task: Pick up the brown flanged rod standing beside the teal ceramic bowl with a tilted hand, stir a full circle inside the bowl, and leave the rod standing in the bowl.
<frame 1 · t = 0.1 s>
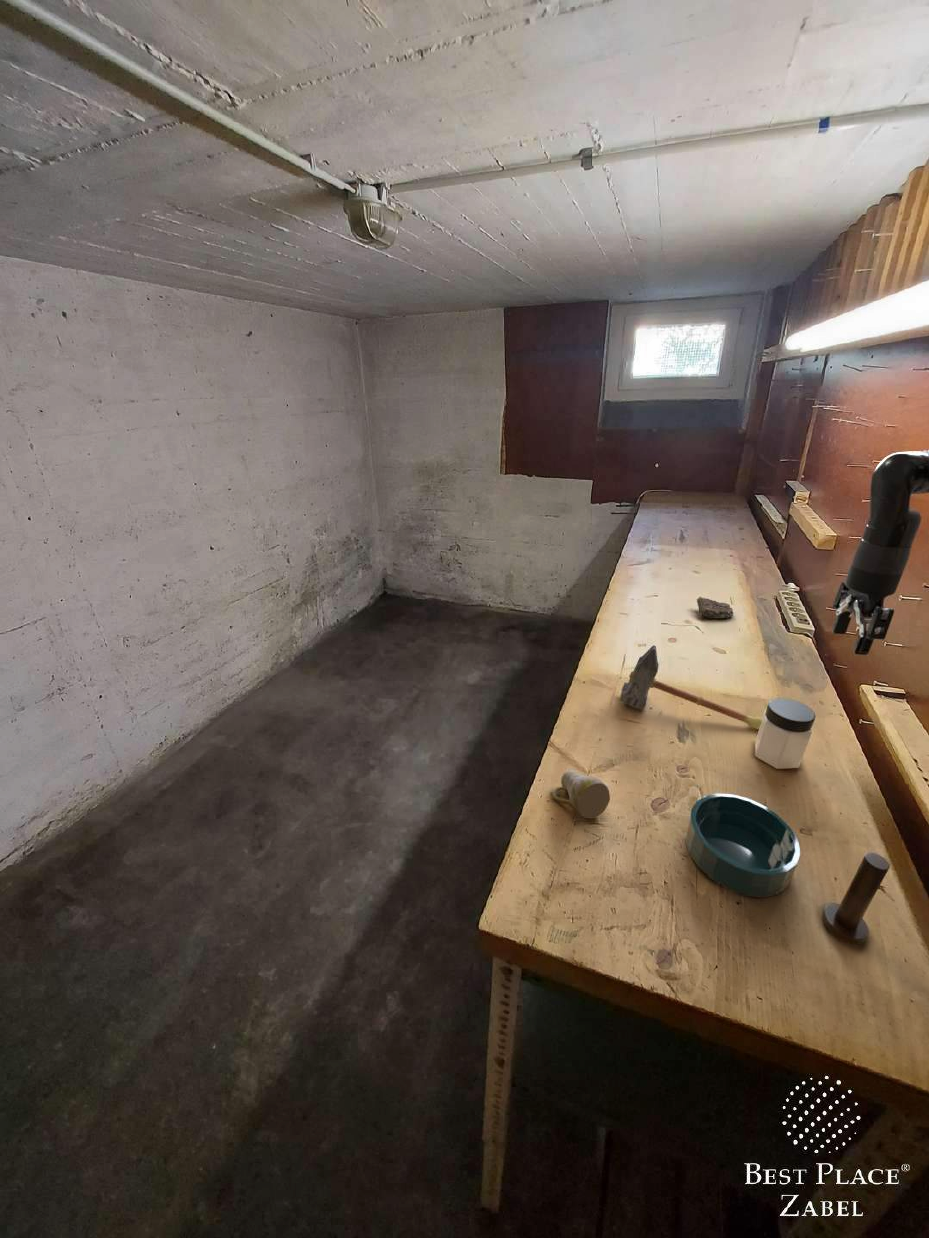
hand: (848, 642, 95), 24 cm above the table, tool pointing down, fingers open, 8 cm apart
hammer: (686, 714, 115), on the table
bowl: (735, 855, 81), on the table
brown flanged rod: (843, 925, 70), on the table
mug: (578, 801, 92), on the table
concrete sample: (713, 615, 162), on the table
jar: (775, 756, 102), on the table
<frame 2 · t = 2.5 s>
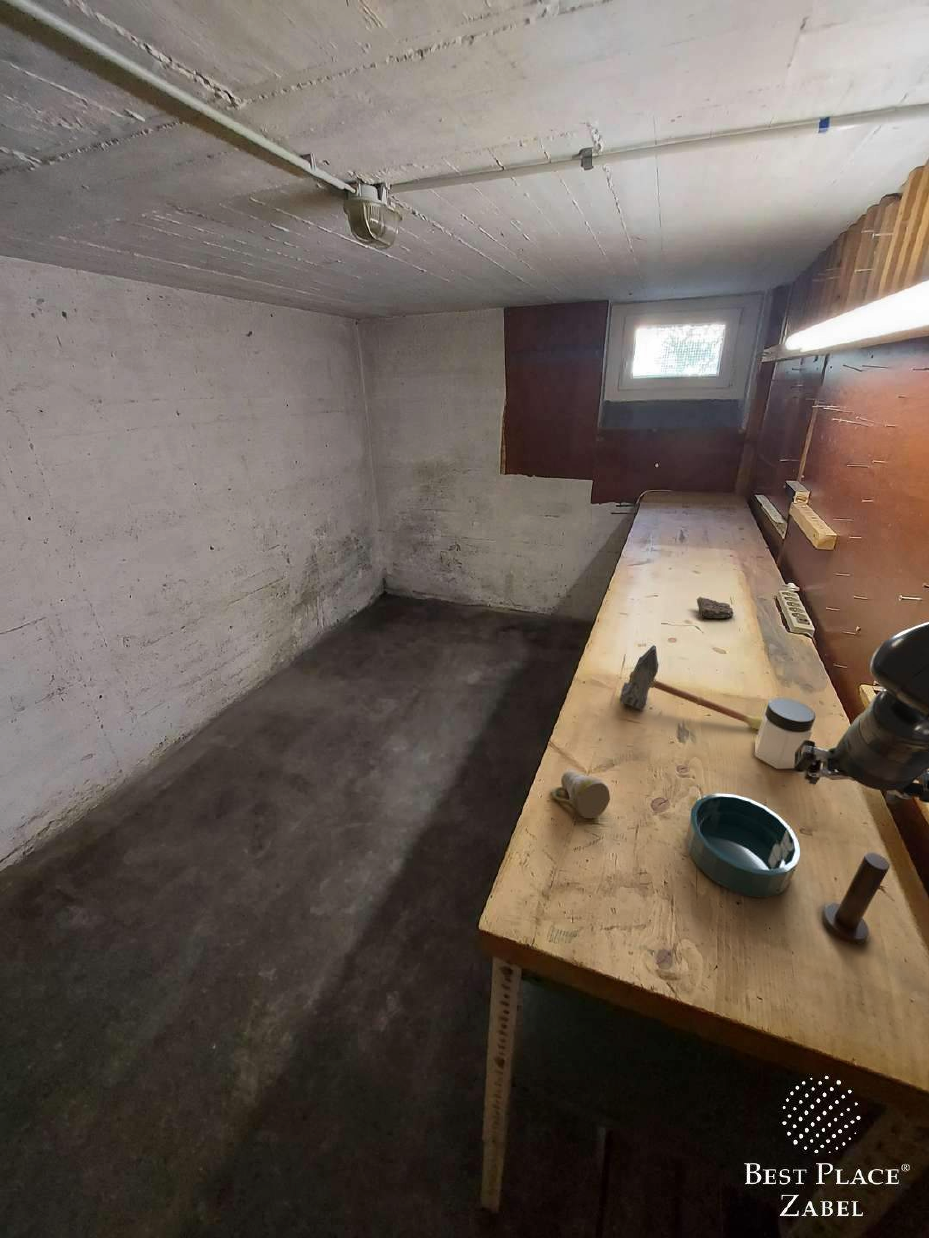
hand: (849, 786, 67), 21 cm above the table, tool tilted 35°, fingers open, 8 cm apart
nothing on the table moved.
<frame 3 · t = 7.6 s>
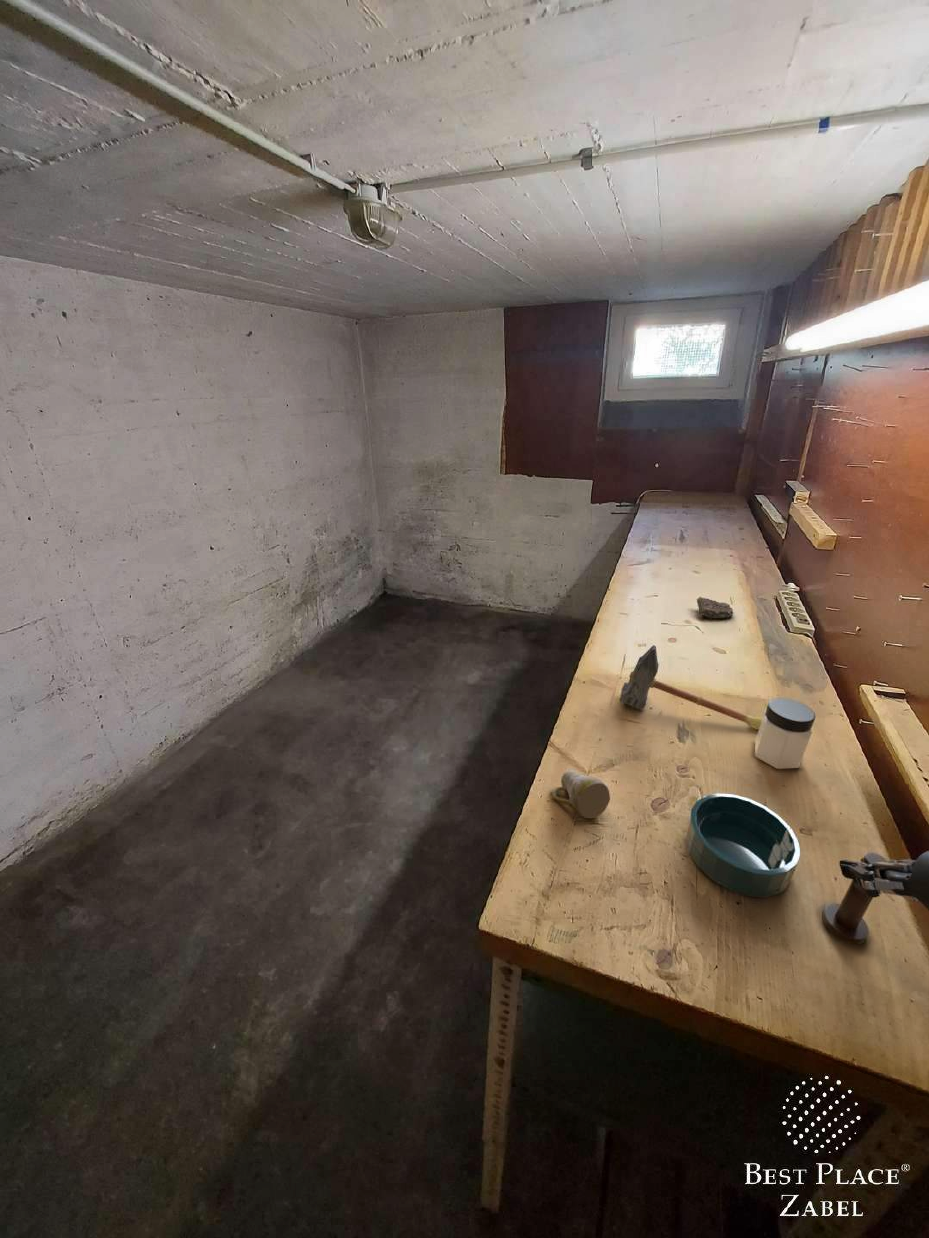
hand: (854, 867, 67), 10 cm above the table, tool tilted 45°, fingers closed on brown flanged rod, 2 cm apart
brown flanged rod: (843, 925, 70), on the table, touching gripper
everything else where it was.
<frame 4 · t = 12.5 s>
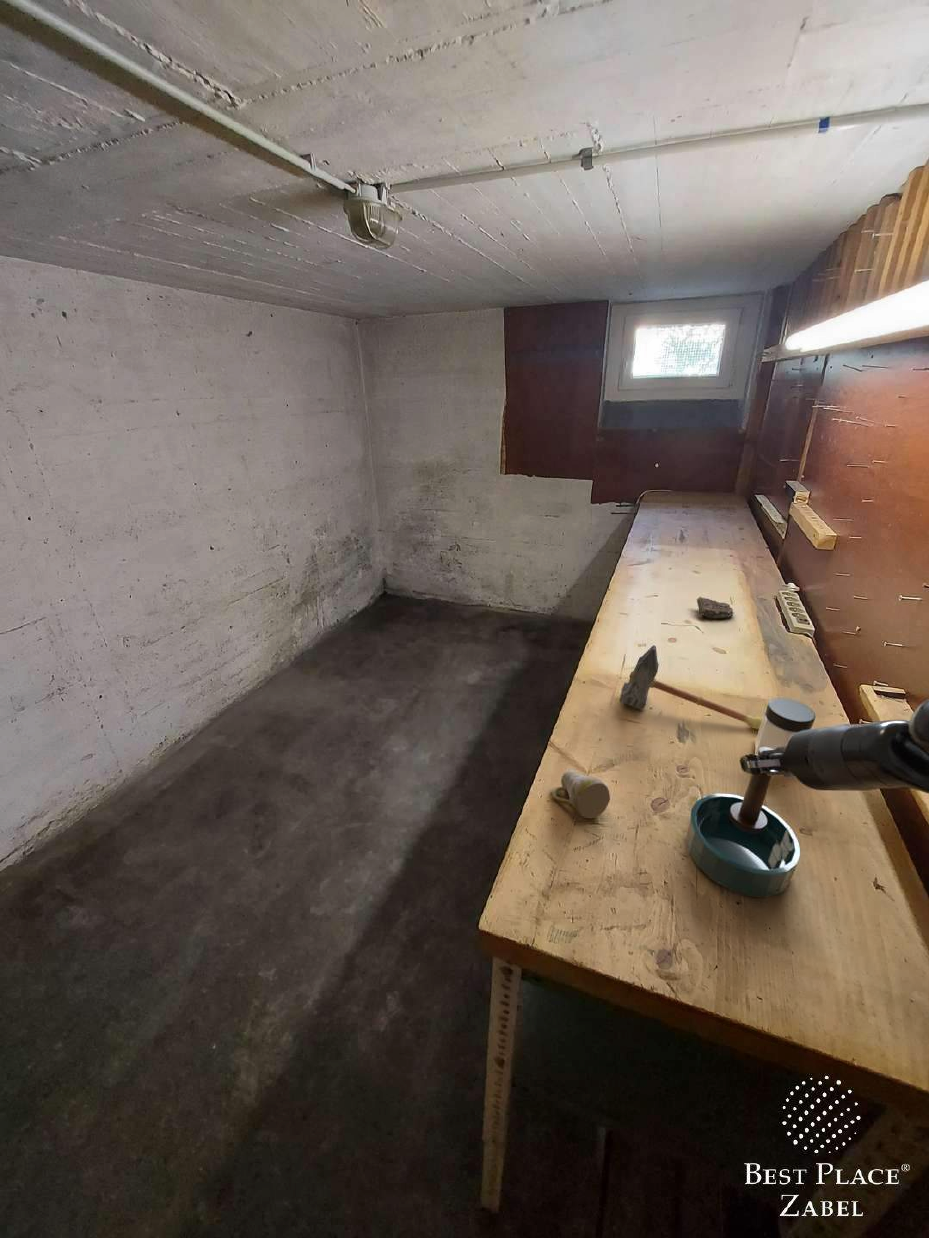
hand: (753, 763, 74), 18 cm above the table, tool tilted 45°, fingers closed on brown flanged rod, 2 cm apart
brown flanged rod: (746, 820, 77), point 8 cm above the table, touching gripper
everything else where it was.
when the fingers open (11 cm above the table, at t = 17.4 s): brown flanged rod stays where it is, resting on bowl.
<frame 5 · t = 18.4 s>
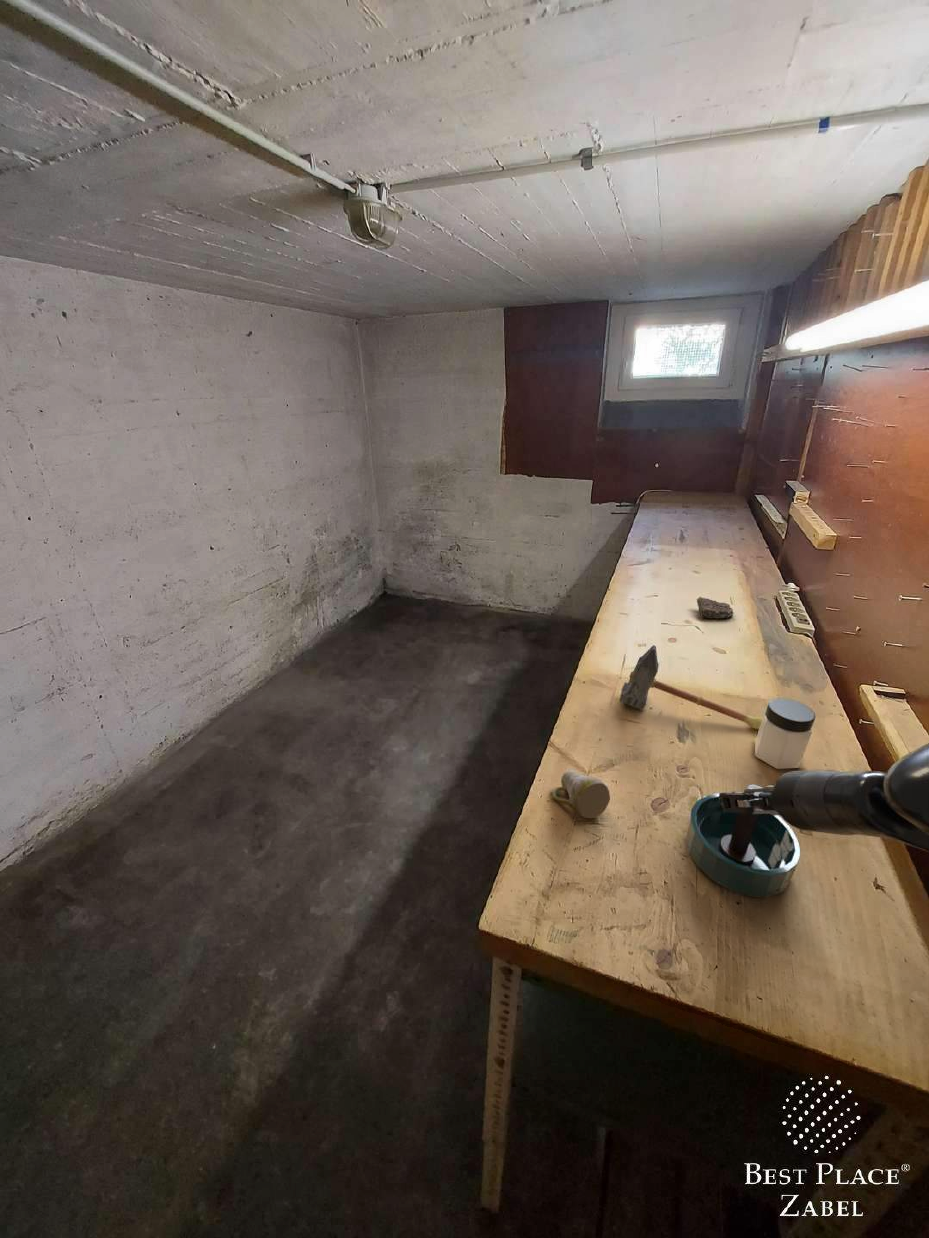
hand: (748, 797, 76), 12 cm above the table, tool tilted 45°, fingers open, 8 cm apart
brown flanged rod: (736, 852, 80), point 1 cm above the table, touching bowl
everything else where it was.
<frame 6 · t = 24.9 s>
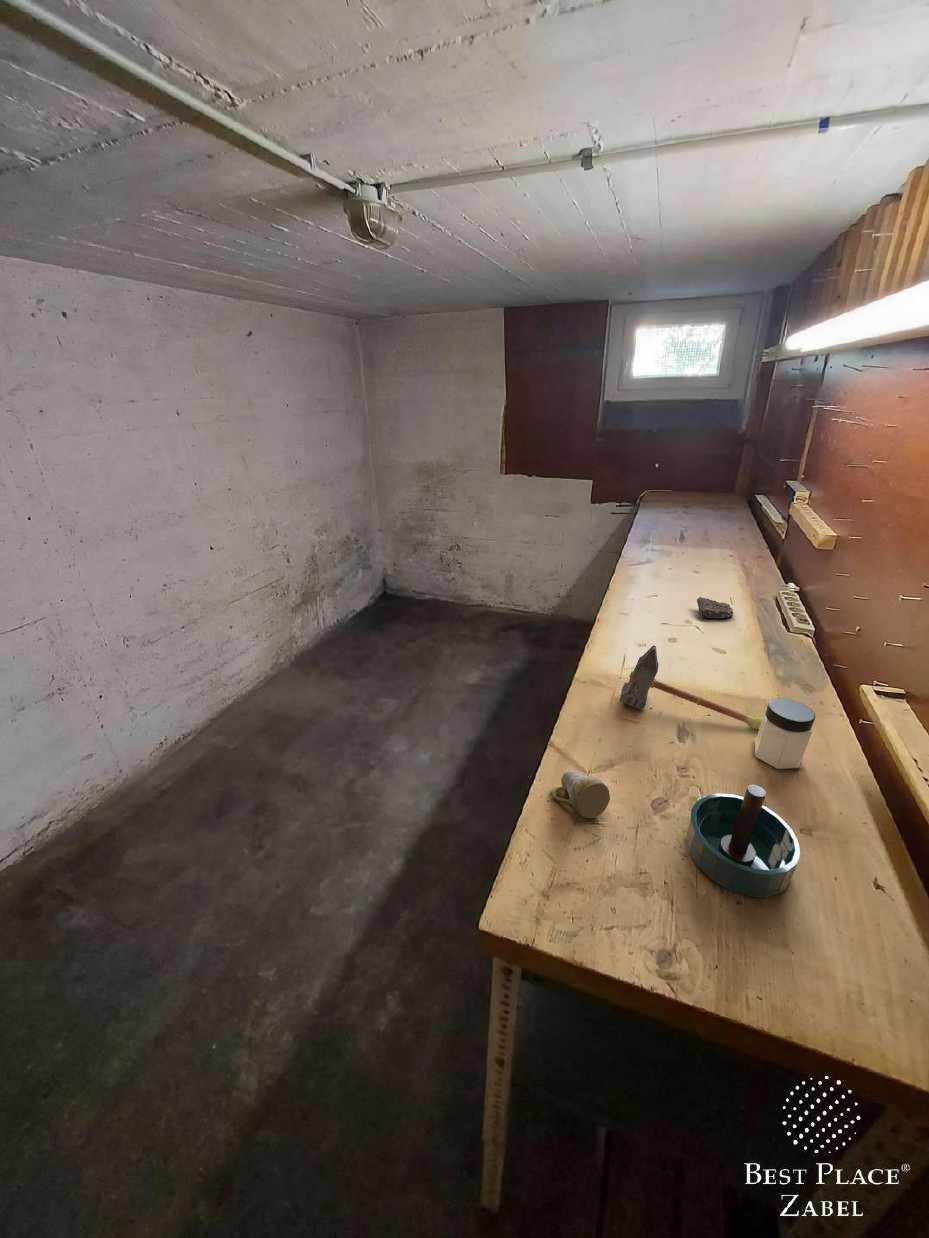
nothing on the table moved.
at the end: brown flanged rod inside the target area in the bowl (0.1 cm from its centre), point 0.8 cm above the bowl's base; brown flanged rod tilted 0°; the gripper is holding nothing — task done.
